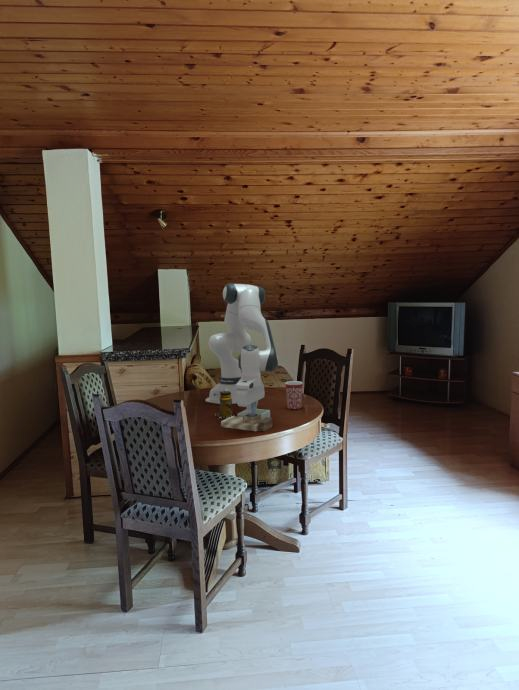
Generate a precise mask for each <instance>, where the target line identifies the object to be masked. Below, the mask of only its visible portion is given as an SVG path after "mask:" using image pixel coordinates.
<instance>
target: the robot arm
mask: <svg viewBox="0 0 519 690" xmlns="http://www.w3.org/2000/svg"><path fill="white" fill-rule="evenodd" d="M222 290H223V291H222V297H223V299H222V300H223V301H224V303H226V304H227V305H226V310H225V315H224V324H225V325H226V326H227V327H228V328H230V329H229V330H230V331H228V332H221V333H215V334H213V335H211V336H210V337H209V340H208V343H207V344H208V348H209V350H210V351H211V352H212V353H214V354H215V355H216V357H217V358H218V361H219V363H220V364H219V365H220V371H221V373H220V374H221V376H219V377H218V378H217V381H218V383H217V384H216V385H215V386H213V387H212V388H211V389H210V390H209V397H207V398H205V402H206V403H212V404H218V405H220V393H221V392H223V391H229V392H231V398H232V405H233V404H237V405H238V407H241V408H242V407H243V408H246V409H247V413H252V409H251V404H252V403H254V402H255V411H256V410H257V409H258V408H257V407H258V404H259V401H260V400H262V399H263V398H265V395H266V394H265V393H266V392H265V385H264V382H263V380H262V378H261V376H262V375H261V372H270V373H272V372H275V370H276V369H277V368H278V367H279V360H280V359H279V356H278V353H277V351H276V348H275V343H274V339H273V334H272V329H271V326H270V324H269V321H268V319H266V318H265V317H264V316H263V314H262V311H261V310H262V309H261V306H262V305H263V304H265V300H266V290H265V289H264V288H263V287H262V286H259V285H254V284H253V285H252V284H246V283H245V284H244V283H233V282H232V283H227V284H225V285H224V288H223V289H222ZM245 328H247V329H248V330H251V331H255V332H257V333H259V334H261V336H262V337H263V340H264V346H265V349H264V350H259V346H257V345H253V344H252V338H251V335H250V334H249V333H248V332H247V331H246V329H245ZM233 352H240V354H239V355H238V356H237V358H238V359H237V358H235V357H234V356H233Z"/></svg>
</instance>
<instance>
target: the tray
mask: <svg viewBox="0 0 519 690" xmlns="http://www.w3.org/2000/svg"><path fill="white" fill-rule="evenodd" d="M246 414H248V413H247V408H246V409H244V410H243V411H241V412H238V413H237V414H236V416H237V417H243V416H244V415H246ZM255 414H261V419H264V418H266V417H267V418H271V410H270V409H260V408H257V410H256V411H255Z"/></svg>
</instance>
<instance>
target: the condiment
mask: <svg viewBox="0 0 519 690" xmlns="http://www.w3.org/2000/svg"><path fill="white" fill-rule="evenodd" d="M216 414H217V415H220V416H221V417H219V418H218V419H223V418H225V417H226V418H229V417H230V416H232V414H233V404H232V398H231V392H229V391H223V392H221V393H220V404H219V413H214V415H215V416H216ZM222 417H223V418H222Z"/></svg>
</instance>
